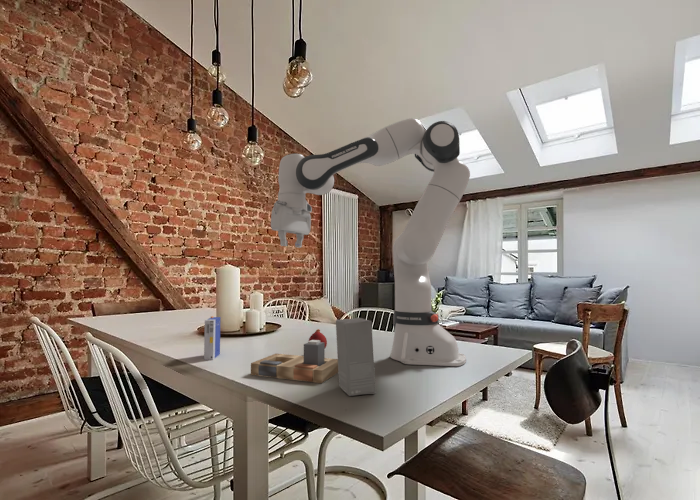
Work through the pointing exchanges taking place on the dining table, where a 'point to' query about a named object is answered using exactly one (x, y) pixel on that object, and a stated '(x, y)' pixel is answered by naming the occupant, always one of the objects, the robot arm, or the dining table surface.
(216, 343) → the walkman
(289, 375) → the socket board
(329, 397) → the dining table surface
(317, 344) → the plug
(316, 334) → the onion
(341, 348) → the skincare box
